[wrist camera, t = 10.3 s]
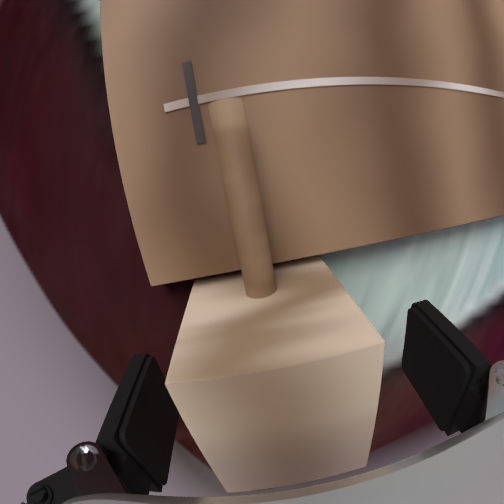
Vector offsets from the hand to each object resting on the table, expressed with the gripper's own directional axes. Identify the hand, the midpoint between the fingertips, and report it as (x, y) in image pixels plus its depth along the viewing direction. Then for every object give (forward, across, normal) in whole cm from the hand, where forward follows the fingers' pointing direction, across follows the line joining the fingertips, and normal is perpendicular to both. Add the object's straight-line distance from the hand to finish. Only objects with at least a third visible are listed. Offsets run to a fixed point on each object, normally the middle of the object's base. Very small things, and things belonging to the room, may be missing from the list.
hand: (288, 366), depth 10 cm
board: (+3, -6, -10) cm, 12 cm away
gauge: (+3, 0, -3) cm, 4 cm away
